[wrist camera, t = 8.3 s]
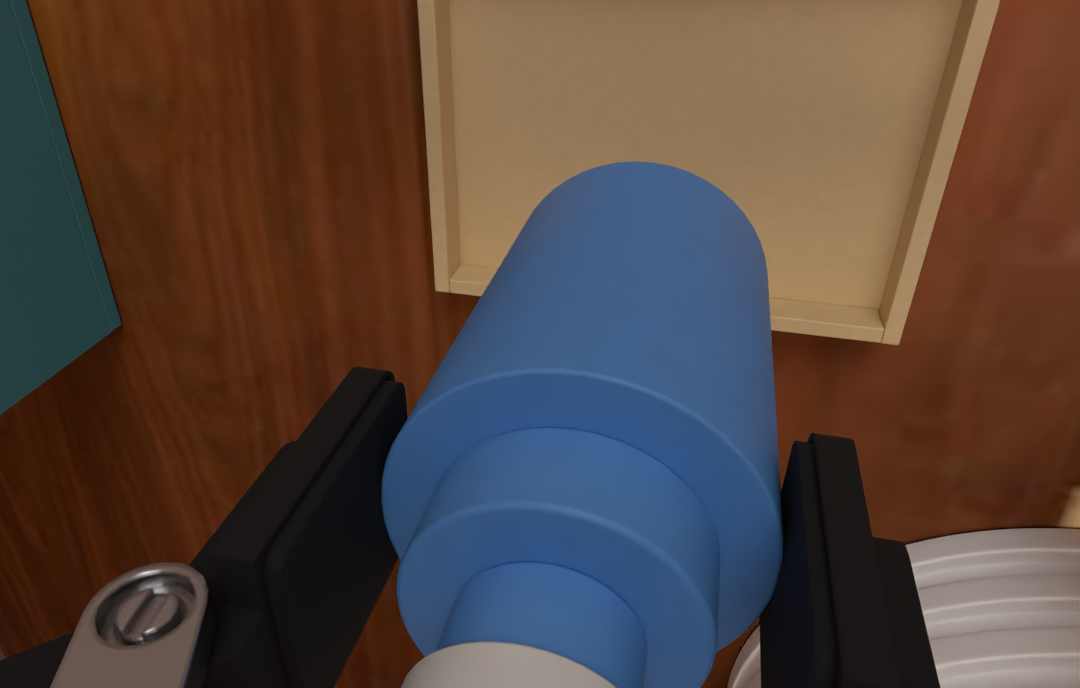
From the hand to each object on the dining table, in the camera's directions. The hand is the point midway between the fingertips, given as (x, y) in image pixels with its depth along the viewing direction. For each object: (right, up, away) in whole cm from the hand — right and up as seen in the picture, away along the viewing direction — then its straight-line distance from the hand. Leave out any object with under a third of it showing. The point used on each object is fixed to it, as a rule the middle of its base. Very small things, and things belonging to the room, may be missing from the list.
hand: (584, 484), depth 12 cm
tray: (+4, +10, +16) cm, 19 cm away
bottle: (+1, +3, +6) cm, 7 cm away
